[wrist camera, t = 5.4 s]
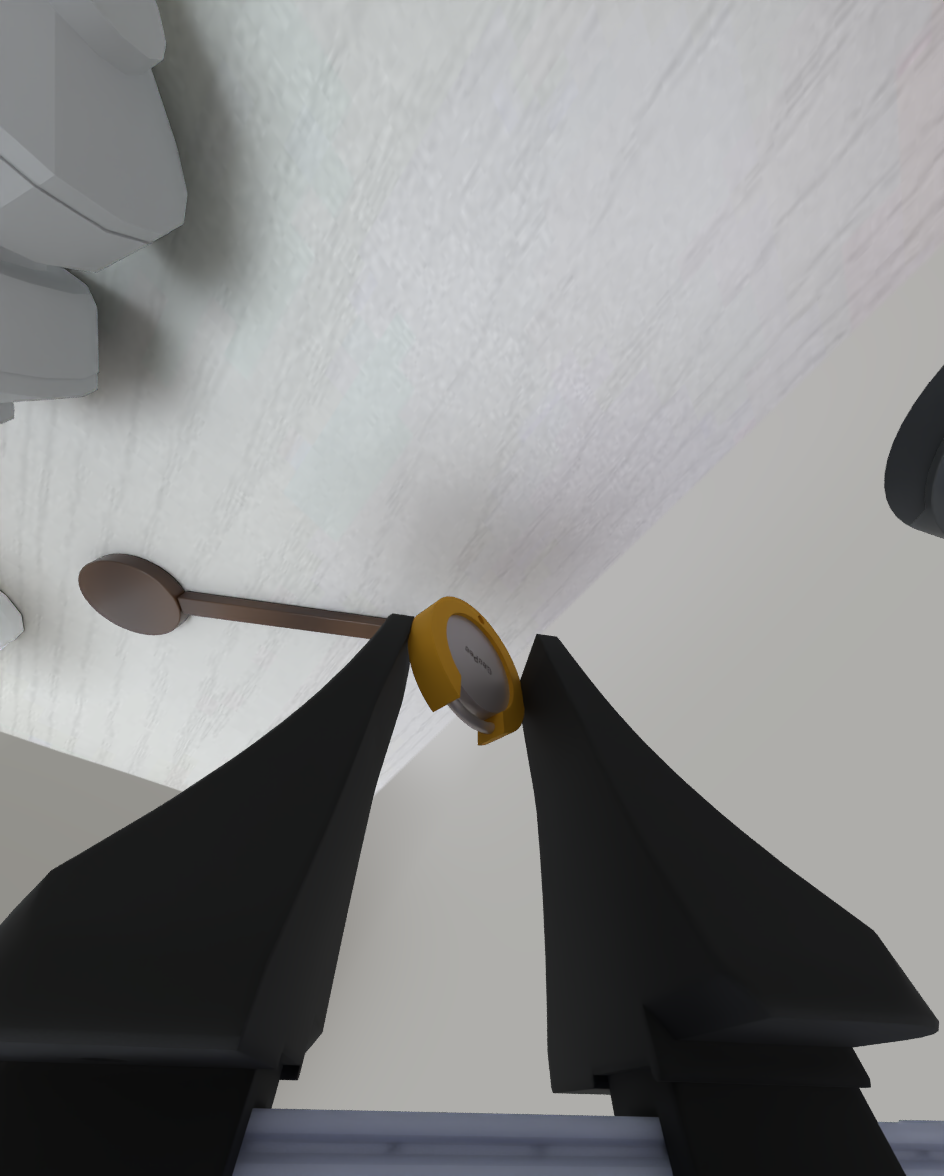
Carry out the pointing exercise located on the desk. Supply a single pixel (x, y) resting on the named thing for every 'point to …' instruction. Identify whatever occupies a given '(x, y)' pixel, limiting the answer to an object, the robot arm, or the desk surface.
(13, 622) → the foam cup
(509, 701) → the tracker
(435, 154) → the desk surface
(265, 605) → the spoon
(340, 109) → the desk surface
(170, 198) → the headphones
